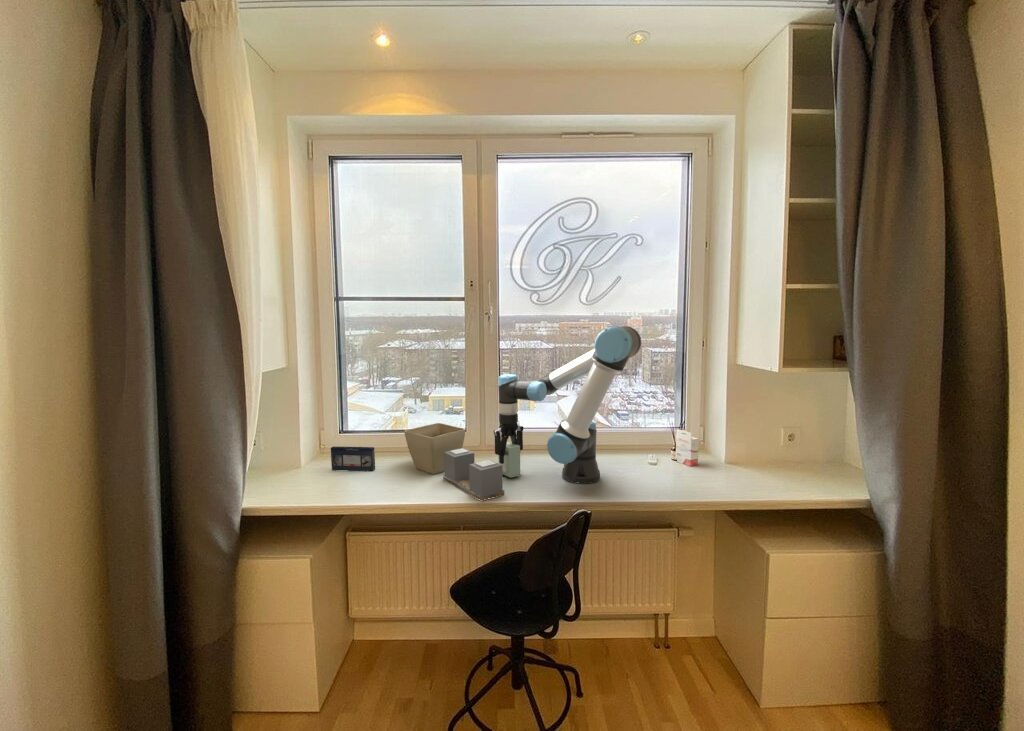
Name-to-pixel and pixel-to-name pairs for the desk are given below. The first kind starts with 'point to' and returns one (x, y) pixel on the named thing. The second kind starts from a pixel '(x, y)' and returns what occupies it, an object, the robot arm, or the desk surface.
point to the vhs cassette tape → (353, 458)
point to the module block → (512, 460)
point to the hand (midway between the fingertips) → (509, 469)
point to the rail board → (465, 487)
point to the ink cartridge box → (686, 448)
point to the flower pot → (433, 445)
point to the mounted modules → (474, 472)
